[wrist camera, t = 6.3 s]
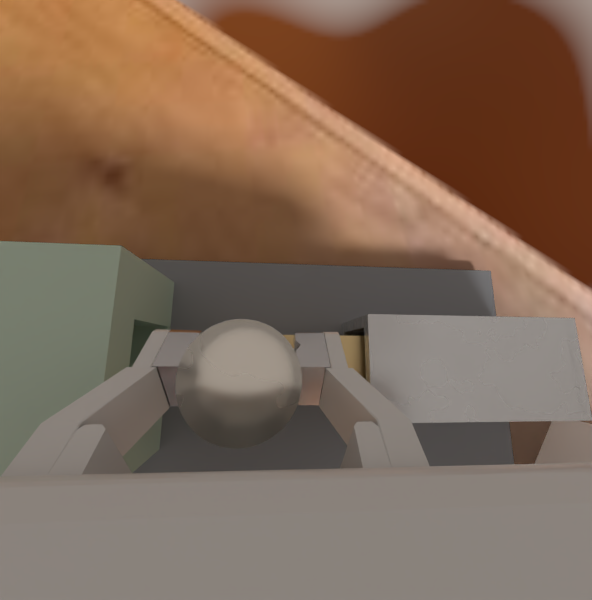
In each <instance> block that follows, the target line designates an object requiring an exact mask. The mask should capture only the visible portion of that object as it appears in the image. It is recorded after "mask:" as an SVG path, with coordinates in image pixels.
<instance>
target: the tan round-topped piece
mask: <svg viewBox="0 0 592 600" xmlns="http://www.w3.org/2000/svg"><path fill="white" fill-rule="evenodd" d="M293 339H294V335H282V334H281V333H280V332H279V331H277V330H276V329H274V328H273V327H271V326H269V325H267V324H265V323H262V322H259V321H255V320H250V319H233V320H228V321H224V322H221V323H218V324H216V325H214V326H211V327H210V328H208V329H207V330H205V331H204V332H202V333H201V334H200V335H199V336H197V338H196V339H195V340H194V341H193V342H192V343H191V344H190V345H189V347H188V348H187V350H186V351H185V353H184V355H183V357H182V359H181V361H180V364H179V367H178V370H177V375H176V387H175V390H176V399H177V403H178V406H179V409H180V411H181V414H182V416H183V418H184V419H185V421H186V423H187V424H188V425H189V426H190V428H191V429H192V430H193V431H194V432H195V433H196V434H197V435H199V436H200V437H201V438H203V439H204V440H206V441H208V442H210V443H212V444H215V445H217V446H221V447H226V448H246V447H251V446H255V445H257V444H260V443H263V442H264V441H266V440H268V439H270V438H271V437H273V436H274V435H276V434H277V433H278V432H279V431H280V430H281V429H282V428H283V427H284V426H285V425H286V424H287V423H288V421H289V420H290V418H291V417H292V415H293V414H294V412H295V409H296V407H297V405H298V402H299V399H300V395H301V389H302V372H301V367H300V363H299V360H298V357H297V355H296V353H295V350H294V343H293ZM340 339H341V343H342V346H343V350H344V354H345V357H346V361H347V365H348V368H353V369H354V370H355V371H357V372H358V373H359V374H360V375H361V376H362V377H363V378H364V379H365V380H366V364H365V337H364V336H340Z"/></svg>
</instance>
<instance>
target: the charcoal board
mask: <svg viewBox="0 0 592 600" xmlns="http://www.w3.org/2000/svg"><path fill="white" fill-rule="evenodd" d="M141 260H143V261H144V262H146V263H147V264H149V265H150V266H152V267H153V268H154V269H156V270H157V271H159V272H160V273H162V274H163V275H165V276H166V277H167V278H169V279H170V280H172V281H173V282H174V293H173V304H172V315H171V326H170V330H198V331H203V332H204V331H205V330H207V329H208V328H210V327H211V326H214V325H216V324H218V323H221V322H224V321H228V320H233V319H250V320H255V321H259V322H262V323H265V324H267V325H269V326H271V327H273V328H274V329H276V330H277V331H279V332H280V333H281V334H282V335H294V332H338V333H339V335H340V336H342V324H343V323H345V322H348V321H351V320H353V319H356V318H359V317H361V316H364V315H367V314H392V315H443V316H493V317H496V311H495V303H494V295H493V287H492V279H491V271H480V270H450V269H421V268H392V267H362V266H333V265H304V264H274V263H245V262H216V261H186V260H157V259H141ZM412 425H413V427H414V430H415V432H416V434H417V437H418V439H419V442H420V444H421V446H422V449H423V451H424V454H425V456H426V458H427V461H428V463H429V466H466V465H507V464H514V458H513V450H512V442H511V433H510V425H509V422H446V423H412ZM346 449H347V444H346V443H345V442H344V440H343V439H342V437H341V436H340V435H339V433H338V432H337V431H336V429H335V428H334V426H333V425H332V424H331V422H330V421H329V419H328V418H327V417H326V415H325V414H324V413H323V411H322V410H321V408H320V407H319V405H297V407H296V409H295V412H294V414H293V415H292V417H291V418H290V420H289V421H288V423H287V424H286V425H285V426H284V427H283V428H282V429H281V430H280V431H279V432H278V433H277V434H276V435H274V436H273V437H271V438H270V439H268V440H266V441H264V442H263V443H260V444H257V445H255V446H251V447H246V448H226V447H221V446H217V445H215V444H212V443H210V442H208V441H206V440H204V439H203V438H201V437H200V436H199V435H197V434H196V433H195V432H194V431H193V430H192V429H191V428H190V426H189V425H188V424H187V423H186V421H185V419H184V418H183V416H182V414H181V411H180V409H179V406H169V409H168V410H167V411H166V412H165V413H164V414H163V415H162V426H161V437H160V448H159V450H158V451H157V452H156V453H155V454H153V455H152V456H151V457H150V458H149V459H148V460H147V461H145V462H144V463H143V464H142V465H141V466H140V467H139V468H137V469H136V470H135V471H134V472H133V473H165V472H207V471H251V470H294V469H337V468H340V467H341V464H342V461H343V458H344V455H345V452H346Z"/></svg>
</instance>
